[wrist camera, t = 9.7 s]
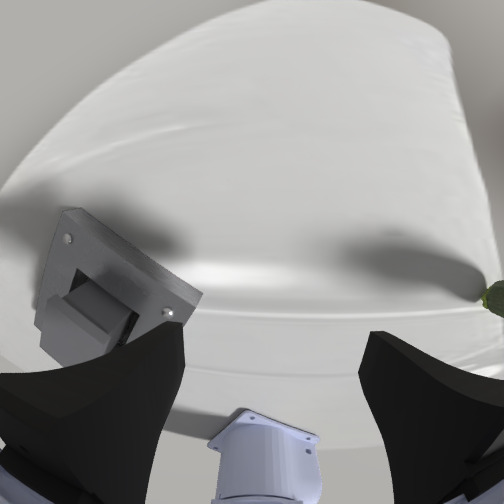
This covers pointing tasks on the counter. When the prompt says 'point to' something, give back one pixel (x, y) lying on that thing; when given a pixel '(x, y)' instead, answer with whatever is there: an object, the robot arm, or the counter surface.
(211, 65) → the counter surface
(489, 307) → the vegetable
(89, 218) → the socket plate
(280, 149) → the counter surface
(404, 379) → the robot arm
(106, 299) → the plug
